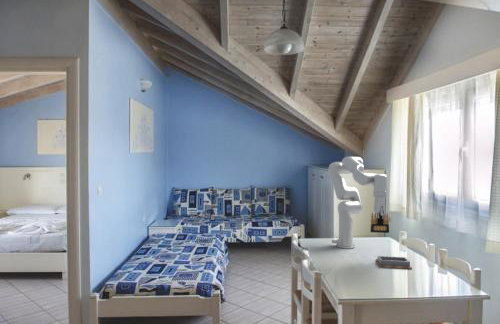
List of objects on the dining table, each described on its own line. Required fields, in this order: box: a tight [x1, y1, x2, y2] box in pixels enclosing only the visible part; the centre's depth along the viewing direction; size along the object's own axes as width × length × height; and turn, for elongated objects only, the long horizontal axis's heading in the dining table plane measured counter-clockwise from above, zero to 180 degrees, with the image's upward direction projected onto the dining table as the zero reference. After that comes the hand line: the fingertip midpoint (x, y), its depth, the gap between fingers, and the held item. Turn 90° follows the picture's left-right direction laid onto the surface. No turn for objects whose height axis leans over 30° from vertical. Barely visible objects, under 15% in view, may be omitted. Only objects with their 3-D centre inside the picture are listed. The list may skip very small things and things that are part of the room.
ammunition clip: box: [370, 211, 390, 234], centre depth 224 cm, size 11×2×12 cm, turn 82°
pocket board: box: [375, 255, 413, 270], centre depth 215 cm, size 17×14×4 cm
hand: (379, 224), depth 224 cm, fingers closed on ammunition clip, 1 cm apart
